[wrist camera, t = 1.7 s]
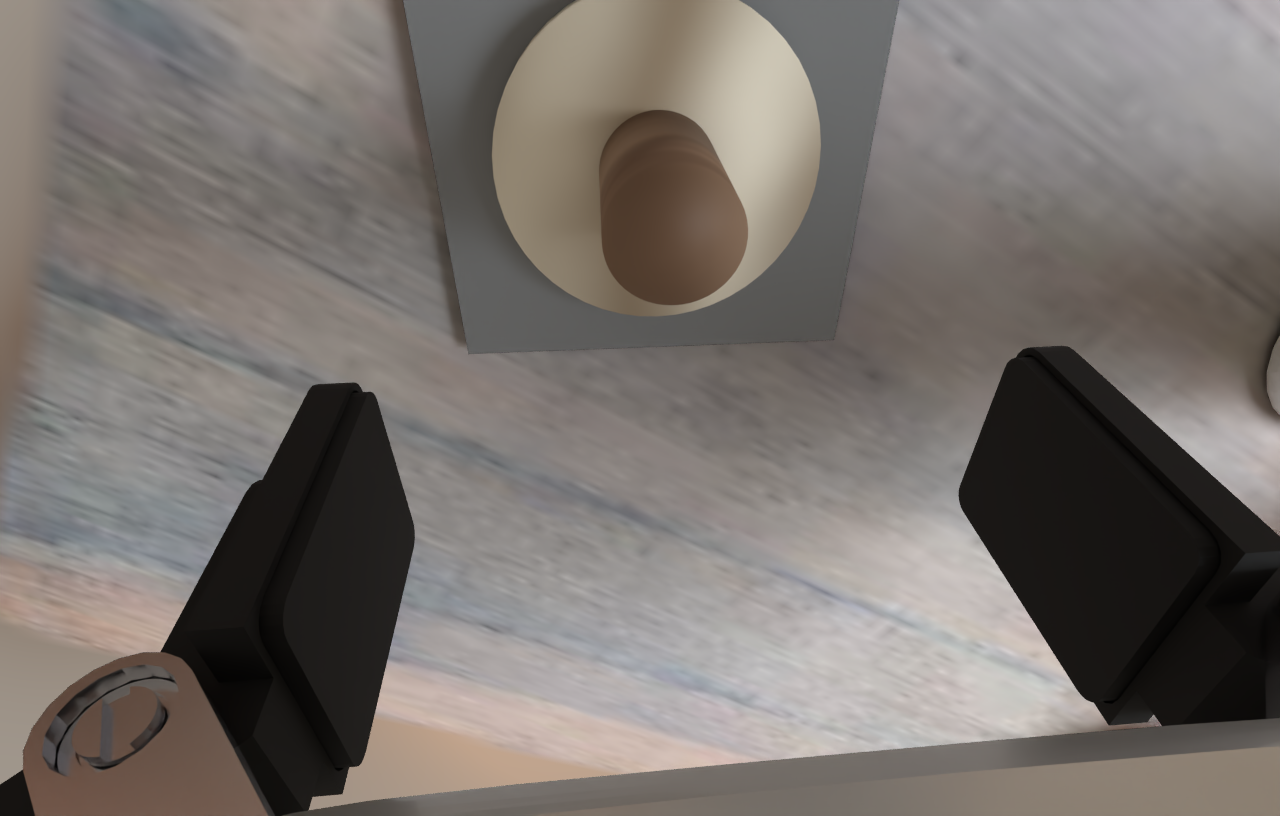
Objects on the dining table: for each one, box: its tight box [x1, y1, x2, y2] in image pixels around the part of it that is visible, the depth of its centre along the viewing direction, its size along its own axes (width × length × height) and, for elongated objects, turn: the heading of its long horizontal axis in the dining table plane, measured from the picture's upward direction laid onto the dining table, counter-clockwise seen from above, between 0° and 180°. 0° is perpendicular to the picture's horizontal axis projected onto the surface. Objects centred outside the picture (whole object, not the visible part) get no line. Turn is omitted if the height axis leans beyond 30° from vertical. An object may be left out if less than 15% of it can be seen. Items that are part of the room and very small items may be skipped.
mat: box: [403, 0, 899, 354], centre depth 22 cm, size 14×14×1 cm
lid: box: [492, 0, 821, 316], centre depth 19 cm, size 10×10×6 cm
